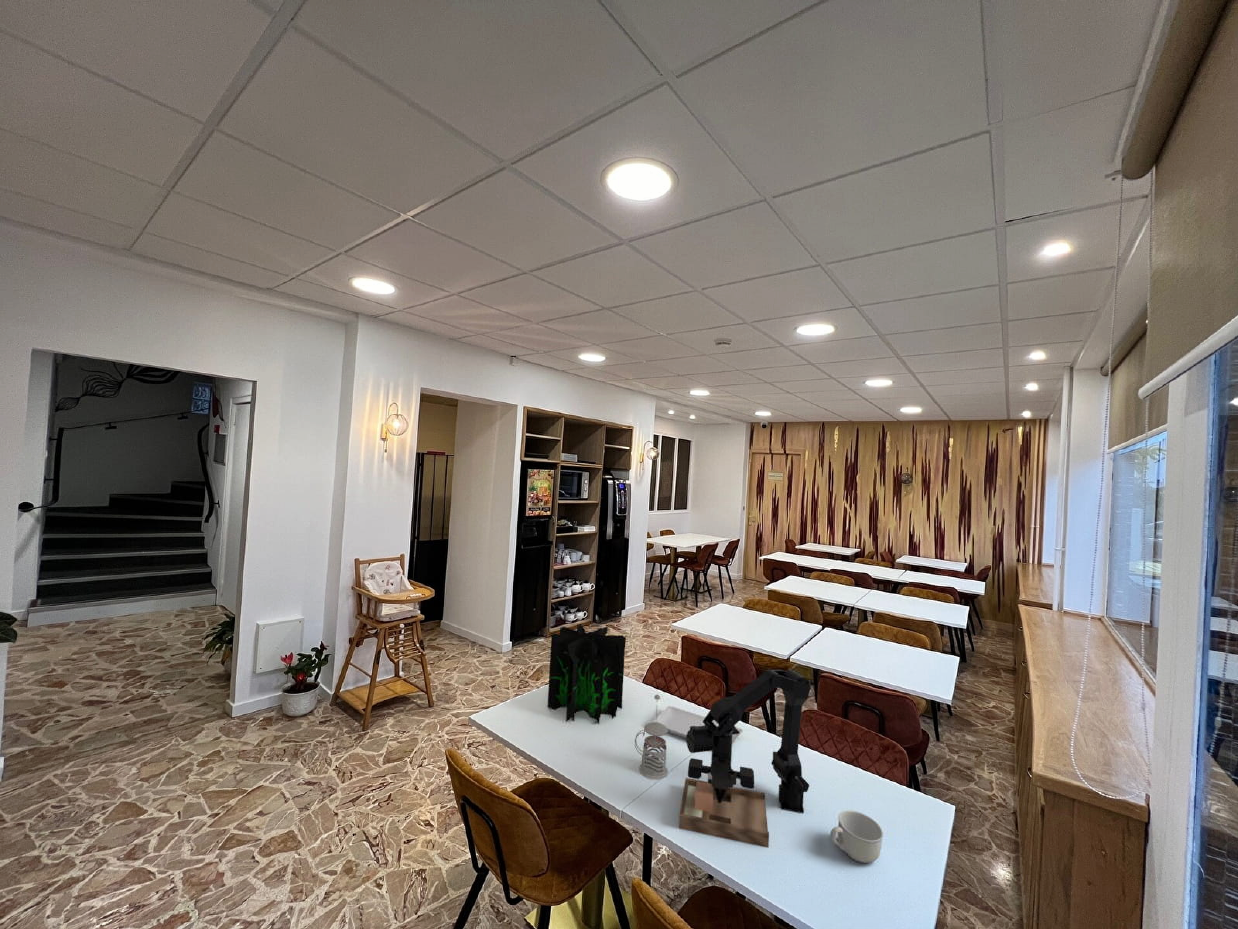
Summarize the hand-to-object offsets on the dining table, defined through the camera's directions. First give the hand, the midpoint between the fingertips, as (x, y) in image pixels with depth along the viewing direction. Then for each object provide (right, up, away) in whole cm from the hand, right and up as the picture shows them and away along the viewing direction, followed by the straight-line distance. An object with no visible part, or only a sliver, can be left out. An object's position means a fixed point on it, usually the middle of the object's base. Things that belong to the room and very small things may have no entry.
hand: (719, 802), depth 144 cm
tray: (0, -5, +45) cm, 46 cm away
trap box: (+1, -4, 0) cm, 4 cm away
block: (-4, -2, +1) cm, 5 cm away
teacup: (+33, -6, -12) cm, 36 cm away
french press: (-19, -3, +20) cm, 28 cm away
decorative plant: (-44, -3, +62) cm, 76 cm away
